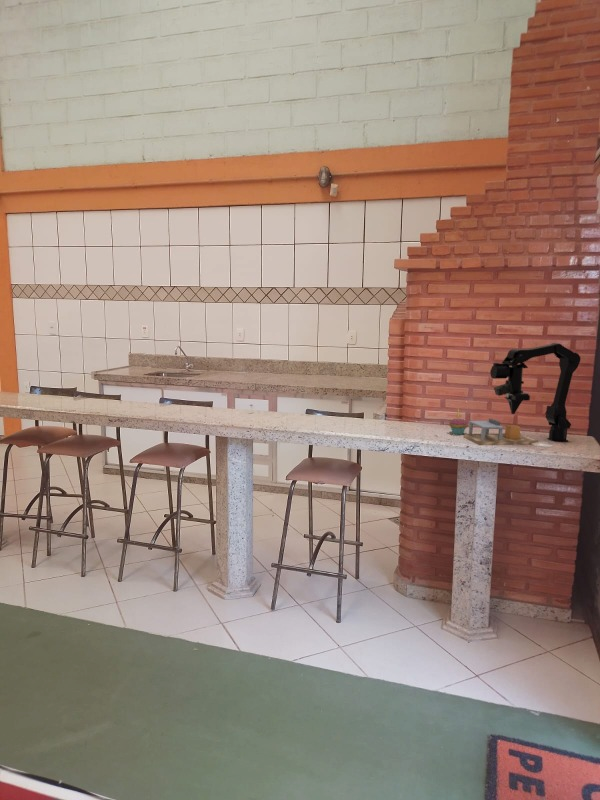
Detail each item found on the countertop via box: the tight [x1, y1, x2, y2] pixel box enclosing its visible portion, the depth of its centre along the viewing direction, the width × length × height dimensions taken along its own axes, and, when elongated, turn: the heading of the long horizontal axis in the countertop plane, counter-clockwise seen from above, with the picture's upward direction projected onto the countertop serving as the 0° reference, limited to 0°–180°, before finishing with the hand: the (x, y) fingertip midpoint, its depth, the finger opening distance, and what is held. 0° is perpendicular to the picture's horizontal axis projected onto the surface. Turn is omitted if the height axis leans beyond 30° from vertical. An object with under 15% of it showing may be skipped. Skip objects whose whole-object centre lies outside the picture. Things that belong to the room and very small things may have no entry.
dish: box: [530, 440, 555, 448], centre depth 245 cm, size 9×9×1 cm
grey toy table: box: [468, 418, 504, 441], centre depth 250 cm, size 9×14×8 cm, turn 8°
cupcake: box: [448, 407, 469, 436], centre depth 265 cm, size 9×8×12 cm
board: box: [462, 432, 539, 446], centre depth 252 cm, size 27×16×2 cm, turn 98°
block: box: [504, 424, 521, 439], centre depth 252 cm, size 4×4×6 cm
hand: (512, 413), depth 251 cm, fingers closed
